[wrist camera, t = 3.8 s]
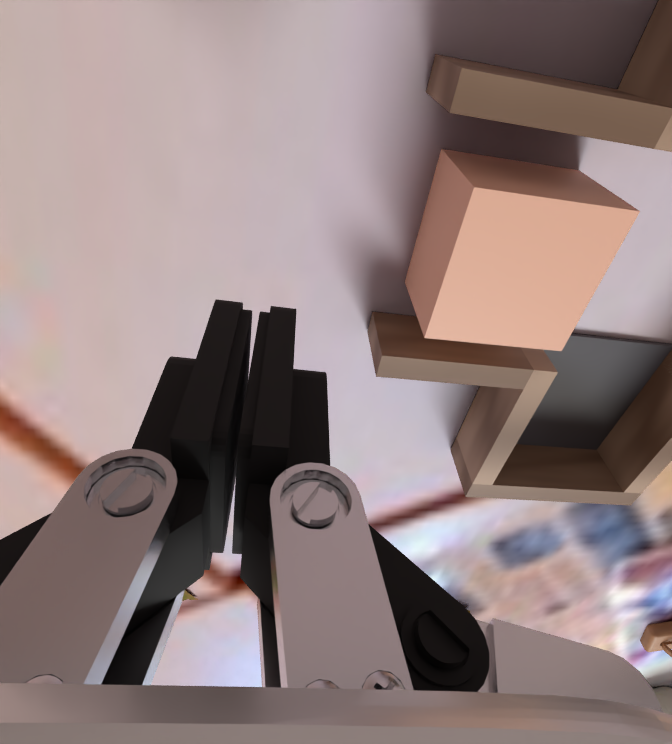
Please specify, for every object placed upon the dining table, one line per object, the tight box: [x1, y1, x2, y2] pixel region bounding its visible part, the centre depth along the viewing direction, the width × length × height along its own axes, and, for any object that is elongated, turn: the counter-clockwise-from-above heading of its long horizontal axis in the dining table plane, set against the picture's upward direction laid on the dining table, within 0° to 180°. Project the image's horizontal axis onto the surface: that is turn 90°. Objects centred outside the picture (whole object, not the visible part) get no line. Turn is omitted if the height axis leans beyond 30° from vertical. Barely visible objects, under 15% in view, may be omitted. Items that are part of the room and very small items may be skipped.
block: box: [405, 149, 640, 351], centre depth 16 cm, size 5×5×4 cm
